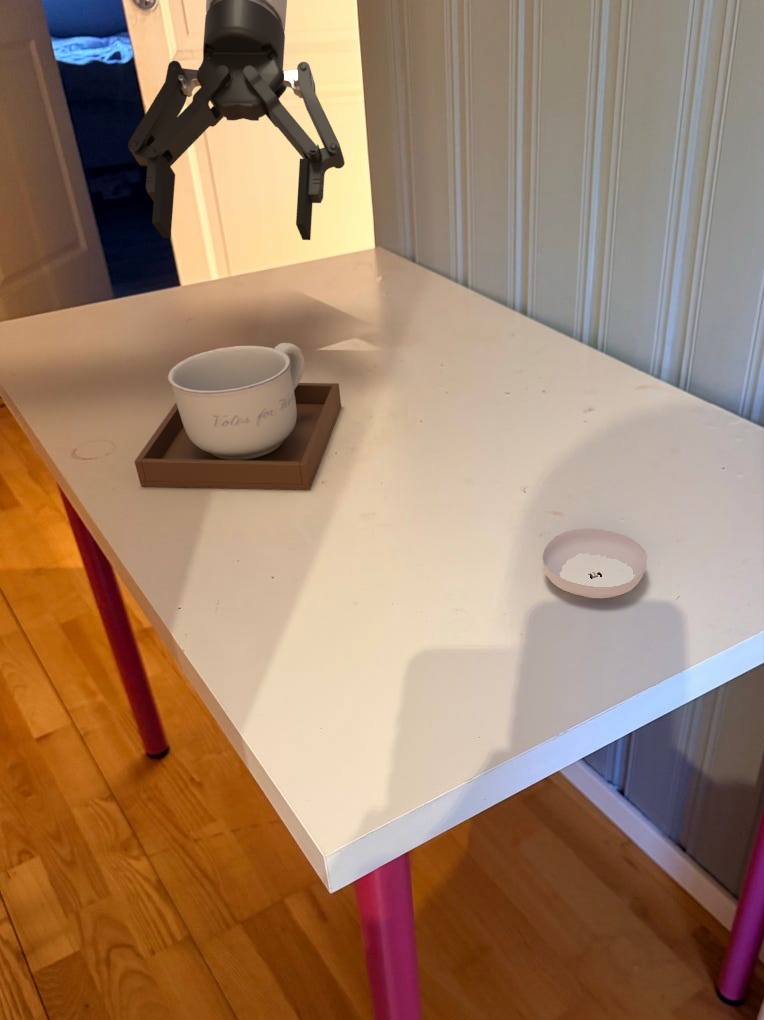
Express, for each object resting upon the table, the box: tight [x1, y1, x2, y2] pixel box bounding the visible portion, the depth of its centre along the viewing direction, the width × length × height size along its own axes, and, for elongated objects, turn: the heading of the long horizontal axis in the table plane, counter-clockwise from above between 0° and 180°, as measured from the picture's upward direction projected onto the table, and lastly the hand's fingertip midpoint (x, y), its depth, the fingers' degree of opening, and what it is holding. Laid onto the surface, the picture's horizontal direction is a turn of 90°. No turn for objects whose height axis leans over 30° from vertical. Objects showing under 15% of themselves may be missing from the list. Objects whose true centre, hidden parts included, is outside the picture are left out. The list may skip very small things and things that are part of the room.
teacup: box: [167, 342, 305, 460], centre depth 85 cm, size 14×11×8 cm
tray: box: [134, 382, 342, 491], centre depth 87 cm, size 15×17×2 cm
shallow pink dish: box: [542, 528, 648, 599], centre depth 70 cm, size 8×8×2 cm
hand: (232, 231), depth 87 cm, fingers open, 13 cm apart
